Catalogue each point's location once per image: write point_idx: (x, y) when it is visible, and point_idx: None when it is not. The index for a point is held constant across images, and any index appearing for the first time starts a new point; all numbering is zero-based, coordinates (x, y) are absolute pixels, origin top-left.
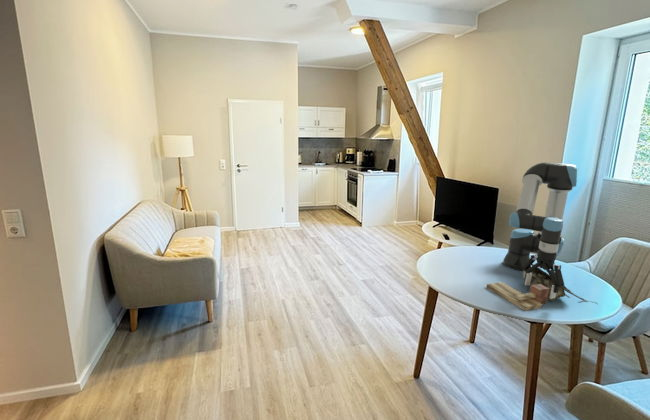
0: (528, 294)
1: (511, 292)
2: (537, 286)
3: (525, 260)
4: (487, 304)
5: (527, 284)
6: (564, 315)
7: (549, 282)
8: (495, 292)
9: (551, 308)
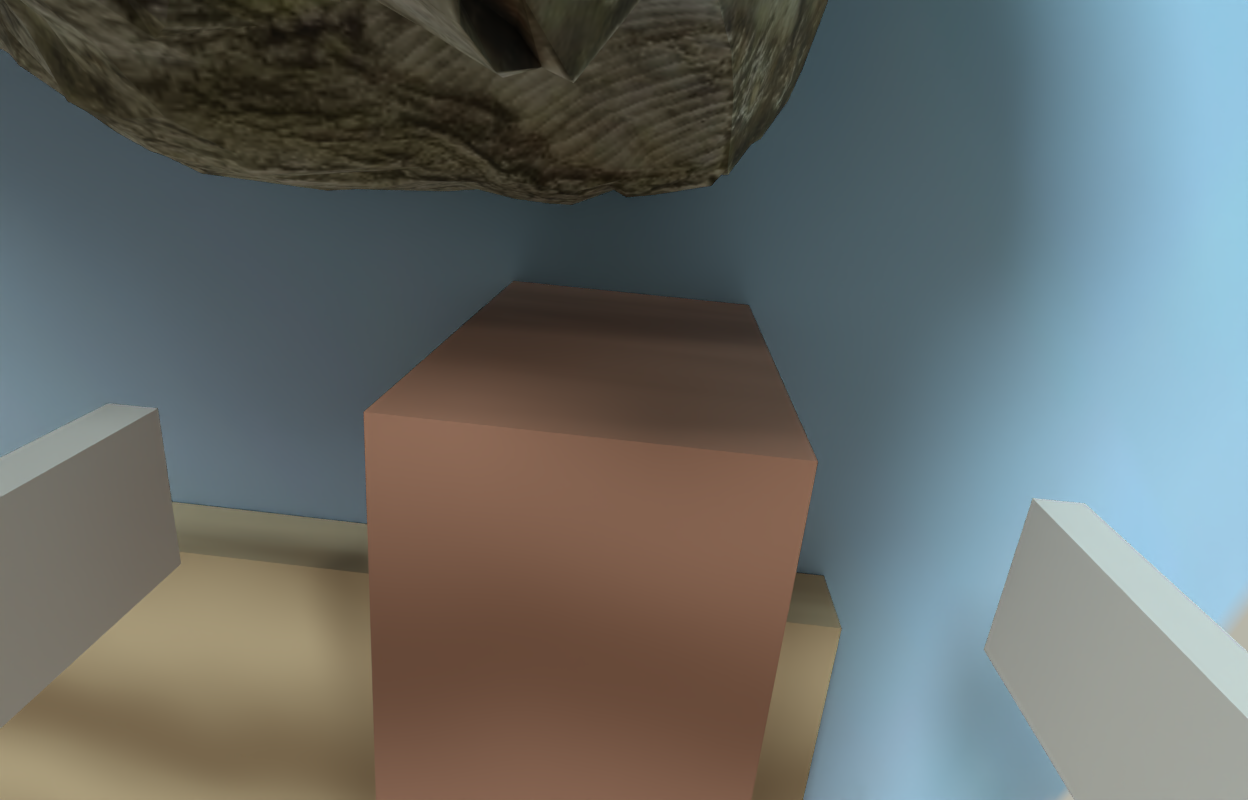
0: None
1: (254, 734)
2: (518, 712)
3: None
4: None
5: (153, 528)
6: (1230, 440)
7: (499, 7)
8: None
9: (932, 411)
